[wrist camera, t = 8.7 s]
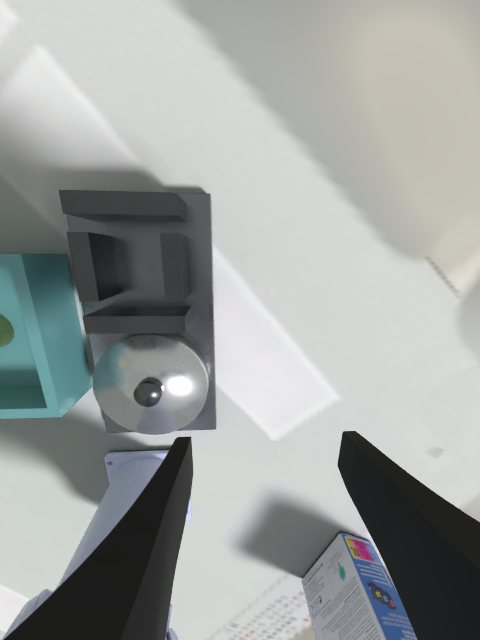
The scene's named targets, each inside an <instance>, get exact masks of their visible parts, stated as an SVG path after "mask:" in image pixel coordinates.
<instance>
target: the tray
mask: <svg viewBox="0 0 480 640" xmlns="http://www.w3.org/2000/svg"><path fill="white" fill-rule="evenodd" d="M0 314H1V315H3V316H4V317H6V318H7V319H8V320H9V321H10V323H11V324H12V326H13V329H14V337H13V340H12V341H11V342H10V343H9V344H8V345H6V346H4V347H1V348H0V419H15V418H50V417H62V416H63V415H64V414H65V413H66V412H67V411H68V410H69V409H70V408H71V407H72V406H73V405H74V404H75V403H76V402H77V401H78V400H79V399H80V398H81V397H82V396H83V395H84V394H85V393H86V392H87V391H88V390H89V389H90V388H91V387H92V385H91V380H90V374H89V369H88V364H87V359H86V354H85V349H84V344H83V338H82V333H81V328H80V323H79V318H78V313H77V307H76V302H75V297H74V292H73V287H72V282H71V276H70V271H69V266H68V261H67V256H66V254H0Z"/></svg>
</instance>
